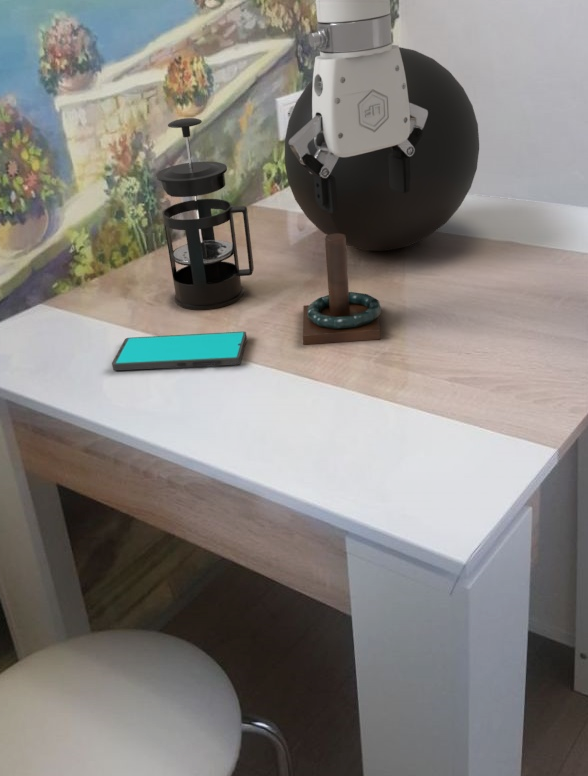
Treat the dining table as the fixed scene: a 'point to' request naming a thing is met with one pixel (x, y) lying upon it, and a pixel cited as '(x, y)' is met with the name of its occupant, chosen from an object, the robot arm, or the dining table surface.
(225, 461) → the dining table surface
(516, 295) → the dining table surface
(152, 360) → the smartphone
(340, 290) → the brown peg stand
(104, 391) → the dining table surface
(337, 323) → the ring
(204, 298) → the french press
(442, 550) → the dining table surface
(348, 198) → the ball
